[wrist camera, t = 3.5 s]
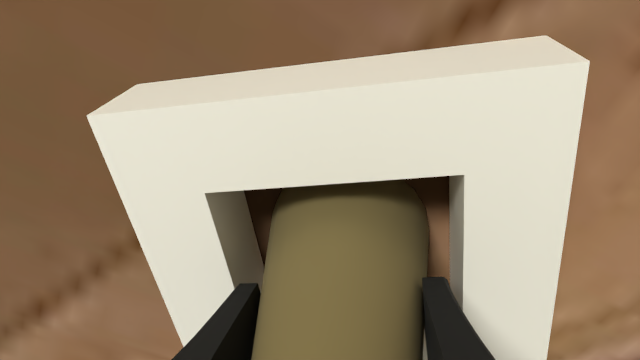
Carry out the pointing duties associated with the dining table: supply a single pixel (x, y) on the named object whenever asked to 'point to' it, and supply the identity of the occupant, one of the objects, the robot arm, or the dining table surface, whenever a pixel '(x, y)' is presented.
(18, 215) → the dining table surface
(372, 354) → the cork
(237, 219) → the holder
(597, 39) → the dining table surface
